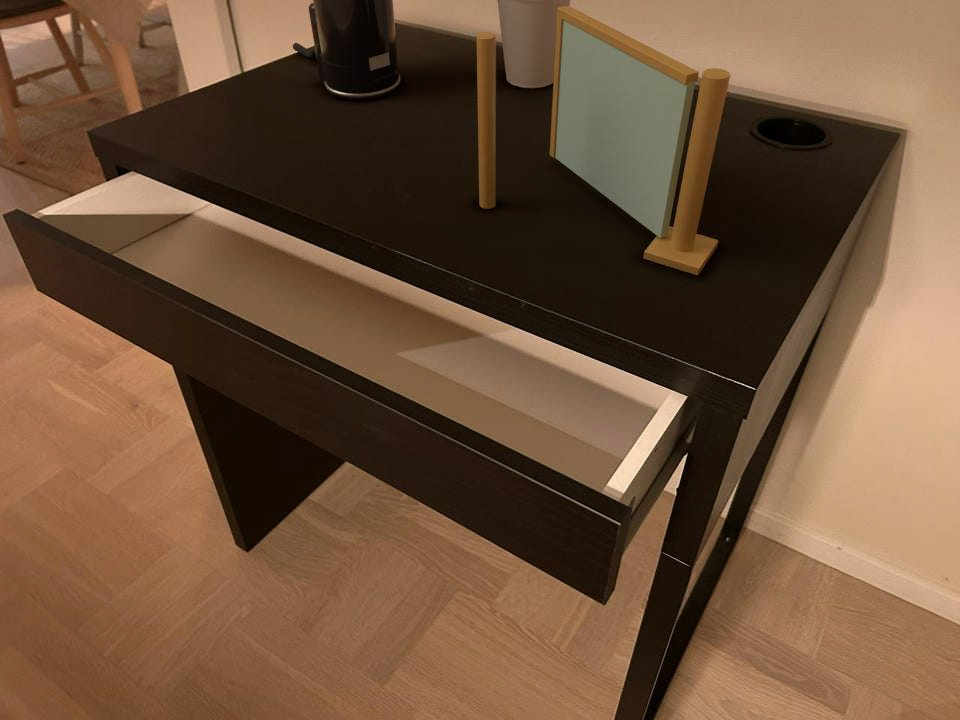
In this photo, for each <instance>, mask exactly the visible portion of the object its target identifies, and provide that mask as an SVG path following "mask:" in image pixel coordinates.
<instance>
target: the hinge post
mask: <svg viewBox="0 0 960 720" xmlns="http://www.w3.org/2000/svg"><path fill="white" fill-rule="evenodd" d="M730 79H731V73H730V72H729V71H728V70H726V69H723V68H717V67H716V68H715V67H712V68H711V67H710V68H706V69H704V70H703V71H702V74H701V79H700V84H699V90H698V95H697V99H696V100H697V101H696V105H695V110H694V115H693V120H692V127H691V131H690V132H691V133H690V138H689V142H688V147H687V153H686V158H685V163H684V170H683V175H682V180H681V185H680V186H681V187H680V190H679V195H678V200H677V206H676V212H675V216H674V222H673V226H670V225H669V229H668V234H667V236H665V237H662V238H659V237H658V236H657V235H656V236H655V237H654V239H652V241H651V242H650V244H649V245H648V246H647V247H646V249H645V250H644V252H643V258H642V259H644V260H646V261H650V262H654V263H656V264H659V265H663V266H665V267H668V268H672V269H674V270H675V269H676V270H679V271H682V272H684V273H688V274H692V275H694V276H699V275H700V274H701V272H702V271H703V269H704V267H705V266H706V264H707V263H708V261H709V260H710V258H711V257H712V255H713V254H714V253H715V251H716V250H717V248H718V244H719V240H718V239H715V238H713V237H709V236H706V235H702V234H699V233H698V227H699V223H700V218H701V215H702V211H703V205H704V200H705V195H706V191H707V186H708V182H709V176H710V172H711V168H712V163H713V158H714V154H715V150H716V149H715V148H716V144H717V139H718V135H719V130H720V125H721V121H722V116H723V111H724V108H725V107H724V106H725V102H726V97H727V92H728V87H729V83H730Z"/></svg>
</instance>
